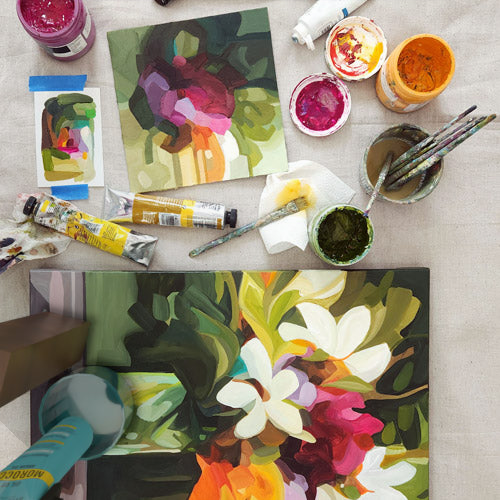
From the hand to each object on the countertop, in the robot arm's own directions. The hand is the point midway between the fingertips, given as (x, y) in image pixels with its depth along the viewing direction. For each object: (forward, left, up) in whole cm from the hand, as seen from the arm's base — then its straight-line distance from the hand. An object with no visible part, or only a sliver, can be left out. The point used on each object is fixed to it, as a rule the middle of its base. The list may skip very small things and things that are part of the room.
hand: (16, 488), depth 44 cm
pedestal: (-8, +9, -25) cm, 27 cm away
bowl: (-1, 0, -25) cm, 25 cm away
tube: (0, 0, -14) cm, 14 cm away
